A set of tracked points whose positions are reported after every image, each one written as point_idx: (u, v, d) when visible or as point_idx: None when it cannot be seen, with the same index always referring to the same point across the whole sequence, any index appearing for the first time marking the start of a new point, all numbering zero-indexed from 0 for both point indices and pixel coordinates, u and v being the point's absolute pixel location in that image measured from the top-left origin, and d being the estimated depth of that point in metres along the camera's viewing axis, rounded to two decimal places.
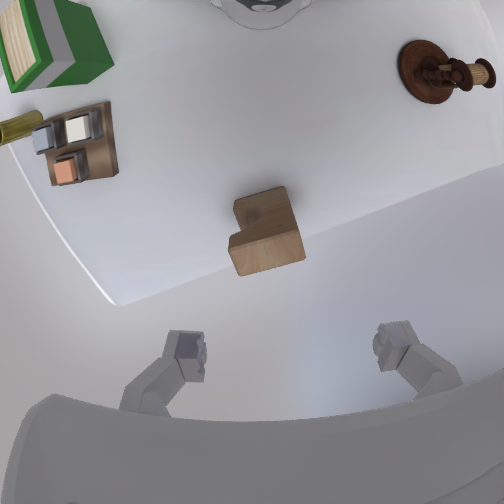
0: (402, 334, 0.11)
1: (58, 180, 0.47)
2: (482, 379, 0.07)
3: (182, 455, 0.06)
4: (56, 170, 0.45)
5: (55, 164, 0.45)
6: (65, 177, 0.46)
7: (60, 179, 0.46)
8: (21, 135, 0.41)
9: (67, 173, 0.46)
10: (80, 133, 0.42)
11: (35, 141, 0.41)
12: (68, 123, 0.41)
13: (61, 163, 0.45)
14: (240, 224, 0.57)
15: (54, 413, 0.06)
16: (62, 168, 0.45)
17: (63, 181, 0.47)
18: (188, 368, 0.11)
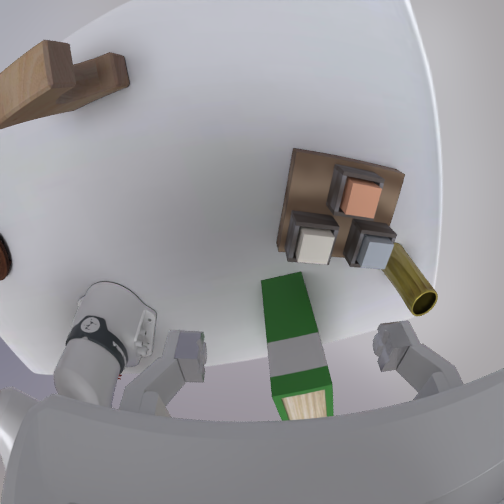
0: (402, 334, 0.11)
1: (379, 192, 0.34)
2: (482, 379, 0.07)
3: (182, 455, 0.06)
4: (373, 207, 0.35)
5: (370, 216, 0.36)
6: (363, 192, 0.34)
7: (373, 192, 0.34)
8: (404, 269, 0.42)
9: (358, 196, 0.35)
10: (310, 243, 0.38)
11: (385, 257, 0.40)
12: (323, 260, 0.39)
13: (360, 214, 0.36)
14: (110, 64, 0.27)
15: (54, 413, 0.06)
16: (362, 207, 0.35)
17: (370, 188, 0.34)
18: (188, 368, 0.11)
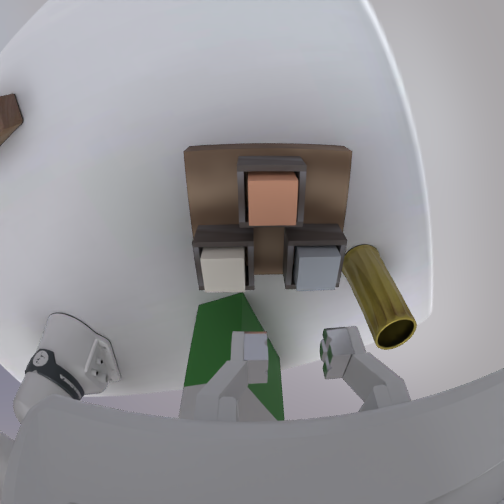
0: (346, 341, 0.11)
1: (294, 186, 0.24)
2: (482, 379, 0.07)
3: (182, 455, 0.06)
4: (291, 210, 0.26)
5: (290, 223, 0.26)
6: (268, 191, 0.25)
7: (285, 189, 0.25)
8: (369, 284, 0.32)
9: (261, 198, 0.25)
10: (212, 268, 0.29)
11: (331, 274, 0.30)
12: (237, 287, 0.30)
13: (271, 222, 0.26)
14: None
15: (54, 413, 0.06)
16: (272, 212, 0.26)
17: (278, 183, 0.24)
18: (256, 369, 0.11)
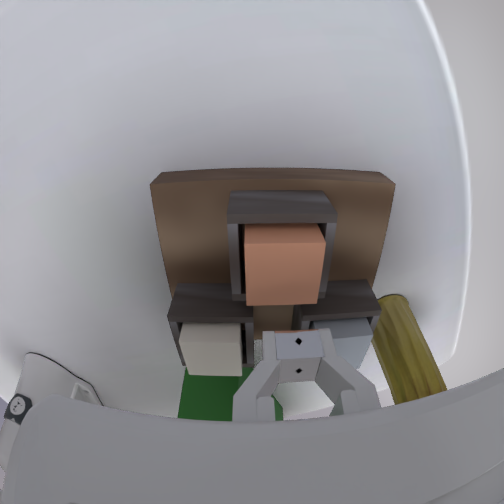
0: (317, 343, 0.11)
1: (319, 251, 0.15)
2: (482, 379, 0.07)
3: (182, 455, 0.06)
4: (312, 284, 0.17)
5: (309, 301, 0.17)
6: (278, 259, 0.16)
7: (305, 255, 0.15)
8: (400, 354, 0.23)
9: (266, 269, 0.16)
10: (195, 352, 0.20)
11: (357, 353, 0.20)
12: (232, 371, 0.21)
13: (281, 301, 0.17)
14: None
15: (54, 413, 0.06)
16: (282, 287, 0.17)
17: (293, 247, 0.15)
18: (288, 368, 0.11)
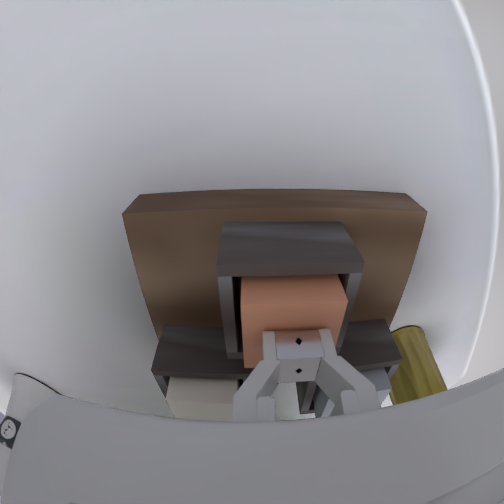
0: (317, 343, 0.11)
1: (338, 311, 0.11)
2: (482, 379, 0.07)
3: (182, 455, 0.06)
4: None
5: None
6: (284, 321, 0.12)
7: (320, 316, 0.12)
8: (416, 396, 0.18)
9: None
10: (186, 409, 0.16)
11: None
12: None
13: None
14: None
15: (53, 413, 0.06)
16: None
17: (305, 307, 0.11)
18: (288, 368, 0.11)
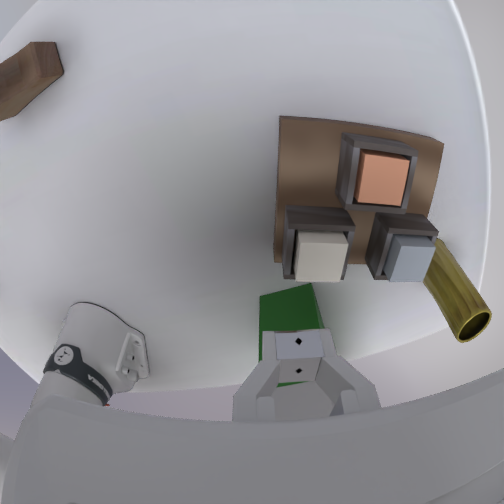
0: (316, 343, 0.11)
1: (405, 166, 0.21)
2: (482, 379, 0.07)
3: (182, 455, 0.06)
4: (399, 190, 0.23)
5: (396, 203, 0.23)
6: (382, 168, 0.22)
7: (398, 167, 0.21)
8: (448, 277, 0.28)
9: (375, 174, 0.22)
10: (311, 254, 0.25)
11: (423, 265, 0.25)
12: (333, 276, 0.27)
13: (380, 200, 0.23)
14: (31, 55, 0.17)
15: (54, 413, 0.06)
16: (382, 189, 0.23)
17: (392, 160, 0.21)
18: (288, 368, 0.11)
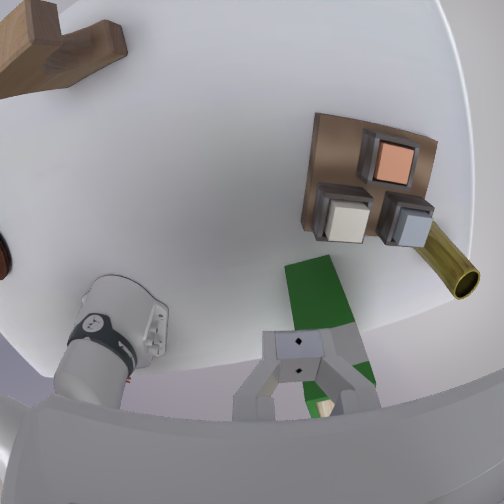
0: (316, 343, 0.11)
1: (411, 154, 0.28)
2: (482, 379, 0.07)
3: (182, 455, 0.06)
4: (406, 172, 0.30)
5: (403, 181, 0.30)
6: (395, 154, 0.28)
7: (405, 155, 0.28)
8: (442, 247, 0.35)
9: (389, 159, 0.29)
10: (342, 217, 0.32)
11: (424, 232, 0.33)
12: (357, 237, 0.33)
13: (392, 179, 0.30)
14: (104, 31, 0.22)
15: (54, 413, 0.06)
16: (394, 170, 0.30)
17: (401, 149, 0.28)
18: (288, 368, 0.11)
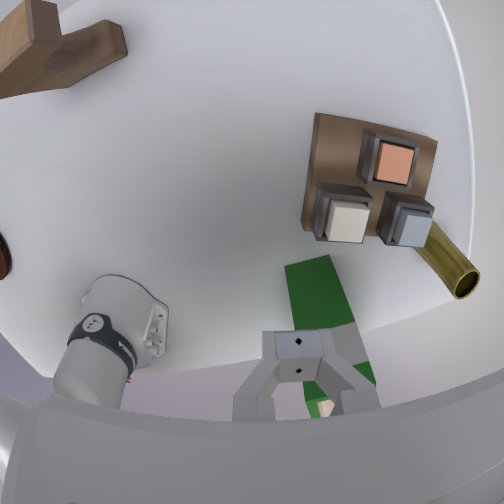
0: (316, 343, 0.11)
1: (411, 154, 0.28)
2: (482, 379, 0.07)
3: (182, 455, 0.06)
4: (406, 172, 0.30)
5: (403, 181, 0.30)
6: (395, 154, 0.28)
7: (405, 155, 0.28)
8: (442, 247, 0.35)
9: (389, 159, 0.29)
10: (342, 217, 0.32)
11: (424, 232, 0.33)
12: (357, 237, 0.33)
13: (392, 179, 0.30)
14: (104, 31, 0.22)
15: (54, 413, 0.06)
16: (394, 170, 0.30)
17: (401, 149, 0.28)
18: (288, 368, 0.11)
